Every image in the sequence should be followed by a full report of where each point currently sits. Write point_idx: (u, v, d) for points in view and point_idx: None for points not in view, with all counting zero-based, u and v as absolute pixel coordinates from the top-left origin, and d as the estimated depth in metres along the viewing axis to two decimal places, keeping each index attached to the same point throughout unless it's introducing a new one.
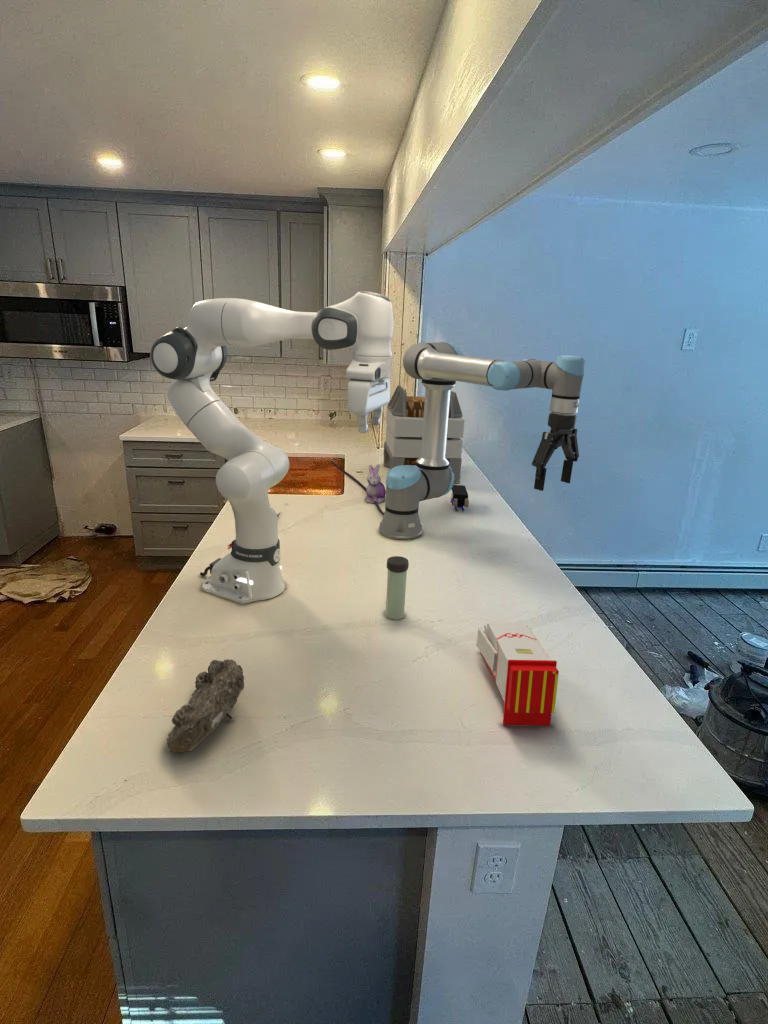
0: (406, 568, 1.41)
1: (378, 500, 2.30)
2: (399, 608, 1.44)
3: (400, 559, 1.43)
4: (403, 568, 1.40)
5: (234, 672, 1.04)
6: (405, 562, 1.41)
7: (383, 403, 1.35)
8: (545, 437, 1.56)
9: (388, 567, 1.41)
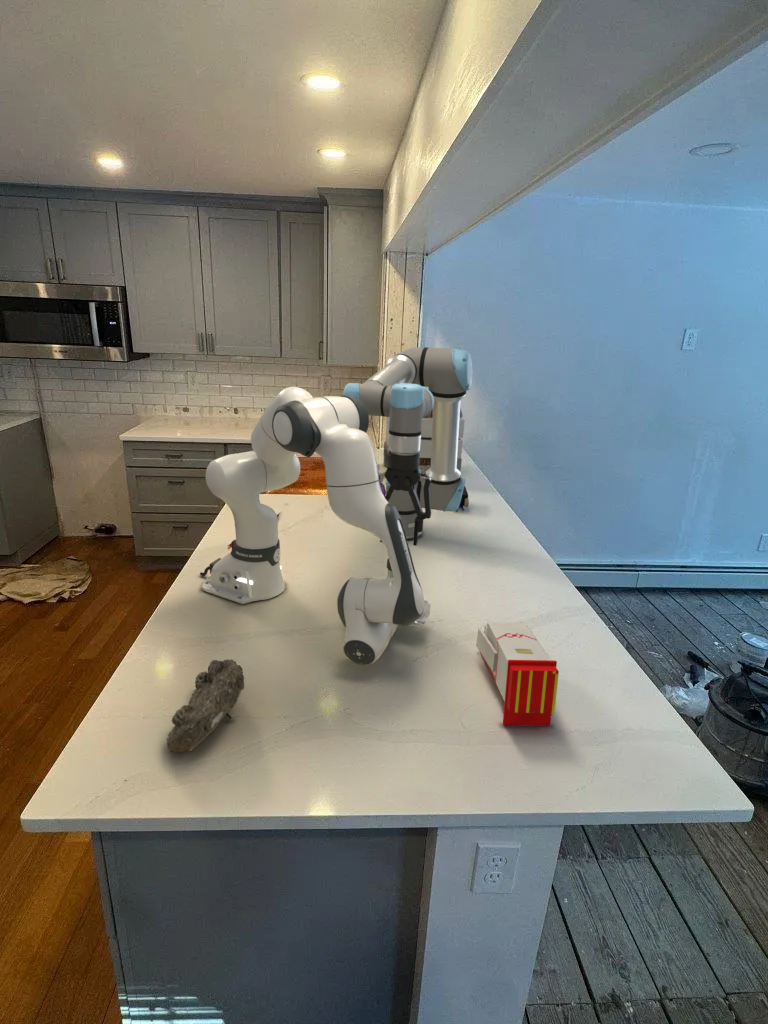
0: None
1: None
2: None
3: None
4: None
5: (234, 672, 1.04)
6: None
7: None
8: None
9: (388, 567, 1.41)
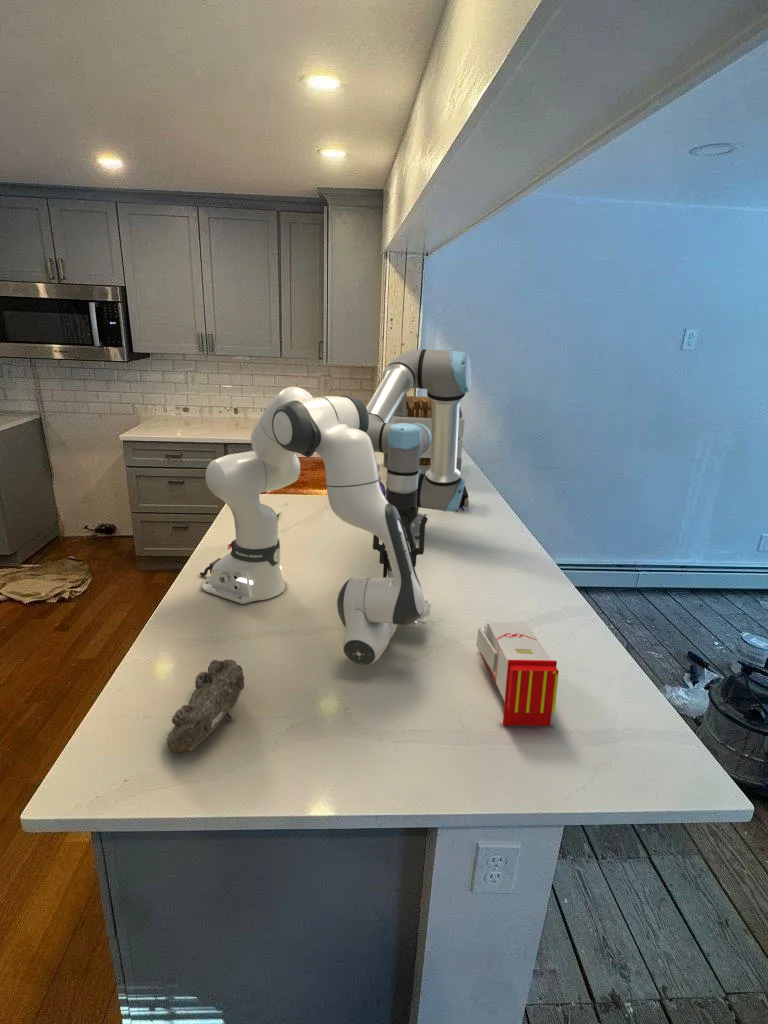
0: None
1: None
2: None
3: None
4: None
5: (234, 672, 1.04)
6: None
7: None
8: None
9: (388, 567, 1.41)
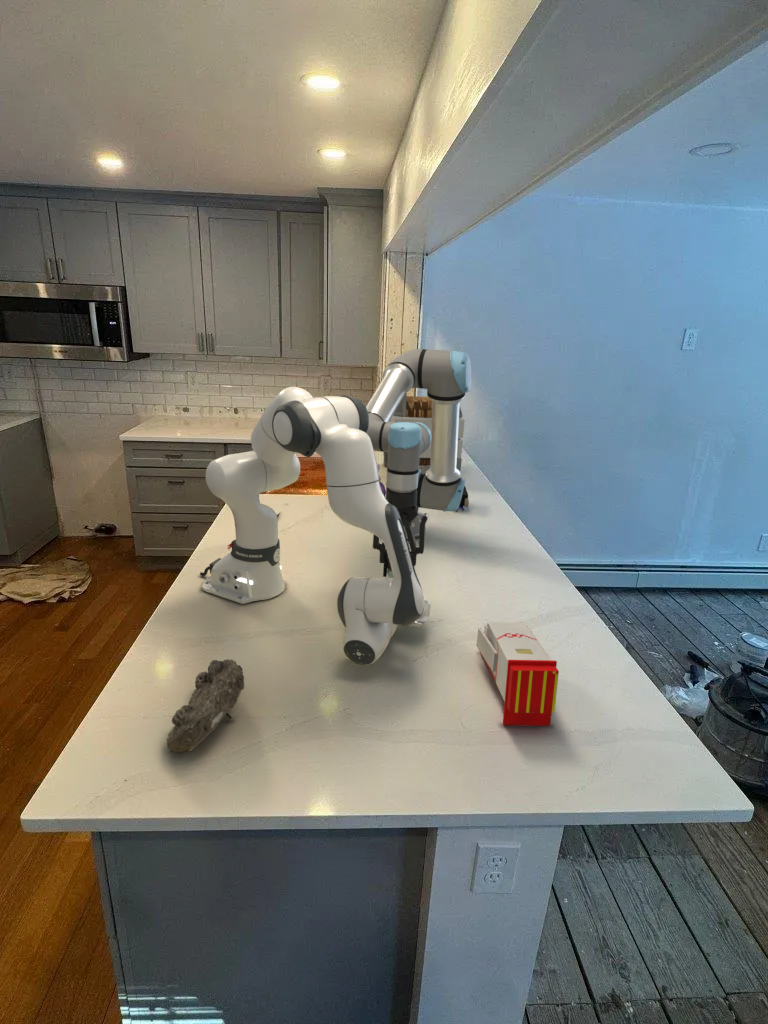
0: None
1: None
2: None
3: None
4: None
5: (234, 672, 1.04)
6: None
7: None
8: None
9: None
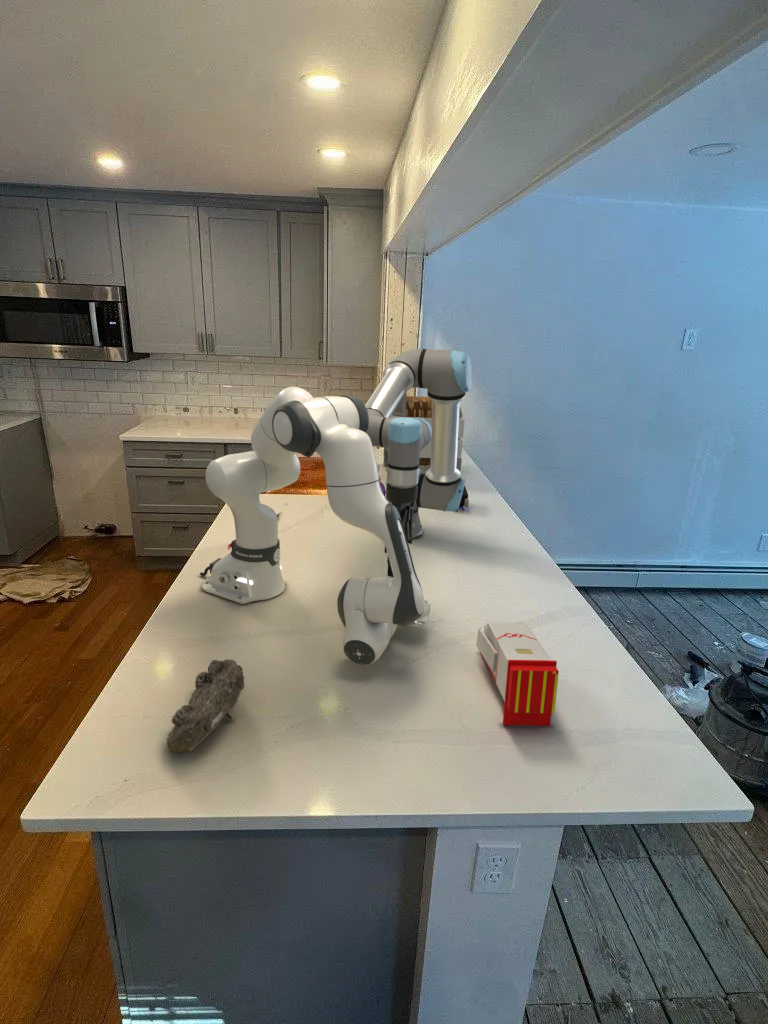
0: None
1: None
2: None
3: None
4: None
5: (234, 672, 1.04)
6: None
7: None
8: None
9: None
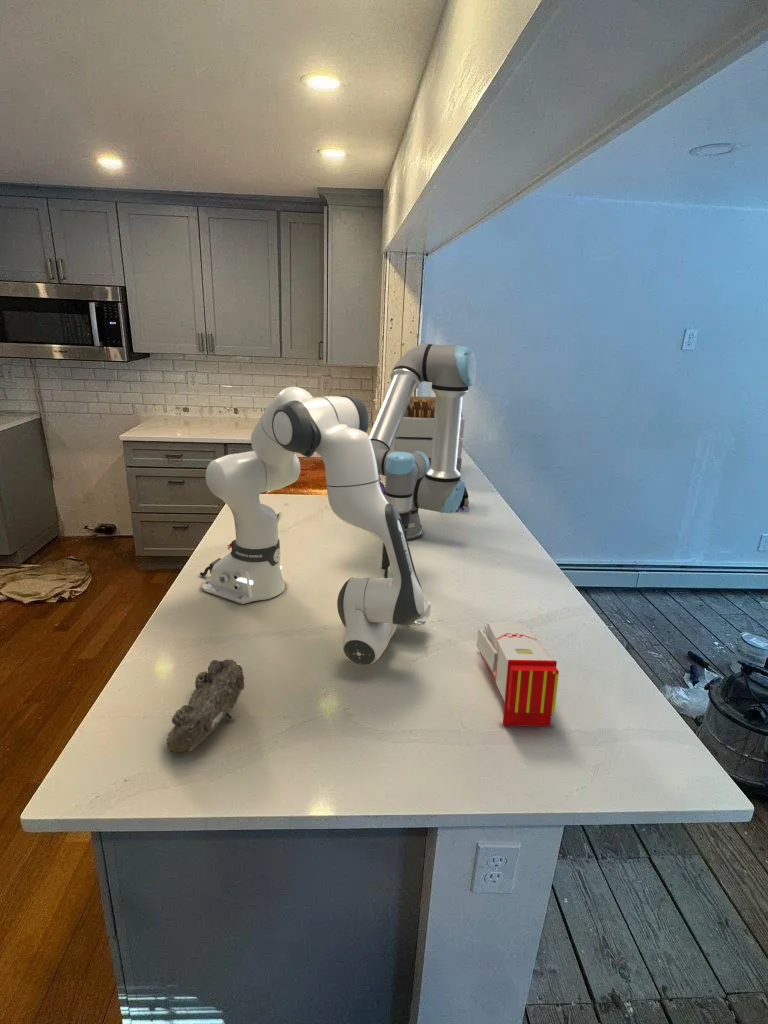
0: None
1: None
2: None
3: None
4: None
5: (234, 672, 1.04)
6: None
7: None
8: None
9: None
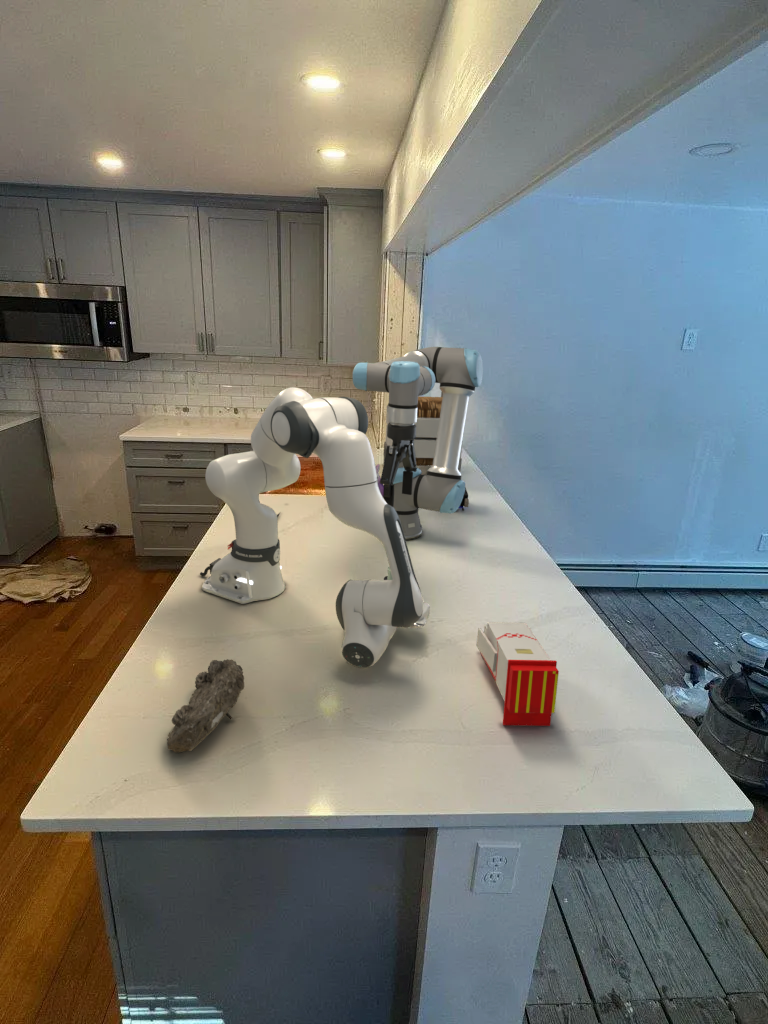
0: None
1: None
2: None
3: None
4: None
5: (234, 672, 1.04)
6: None
7: None
8: None
9: None
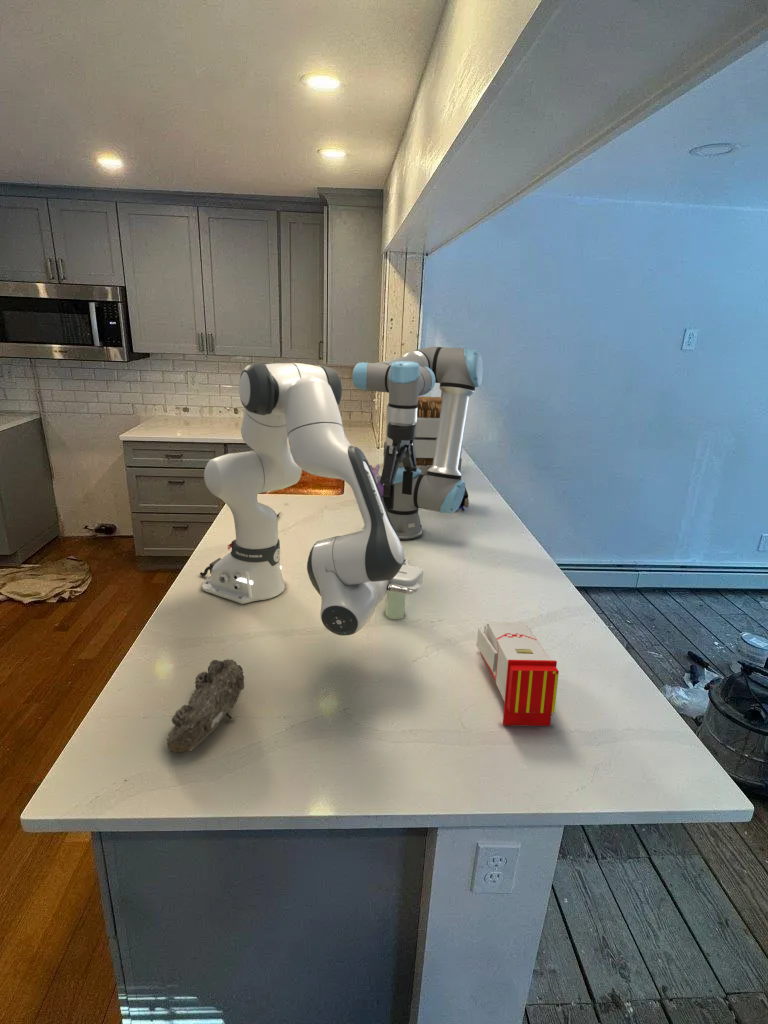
0: None
1: None
2: (399, 608, 1.44)
3: None
4: None
5: (234, 672, 1.04)
6: None
7: None
8: None
9: None
